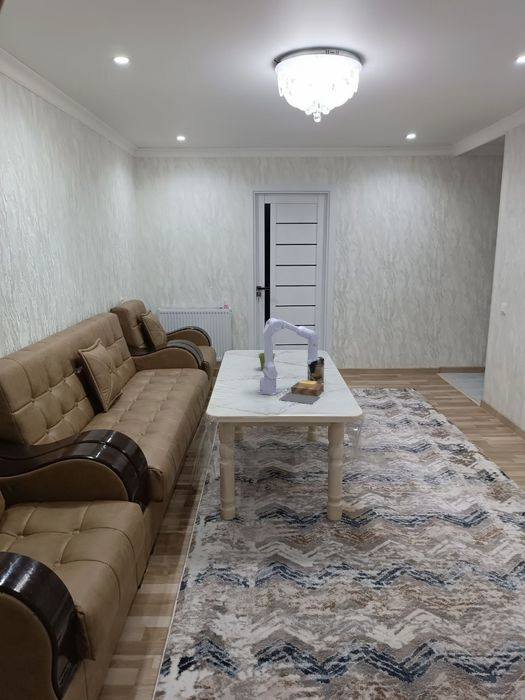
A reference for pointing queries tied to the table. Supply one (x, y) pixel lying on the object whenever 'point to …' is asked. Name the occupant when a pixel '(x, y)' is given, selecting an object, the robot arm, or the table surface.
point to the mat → (299, 398)
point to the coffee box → (317, 372)
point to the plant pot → (263, 359)
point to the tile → (308, 383)
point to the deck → (307, 389)
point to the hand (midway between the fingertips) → (312, 373)
